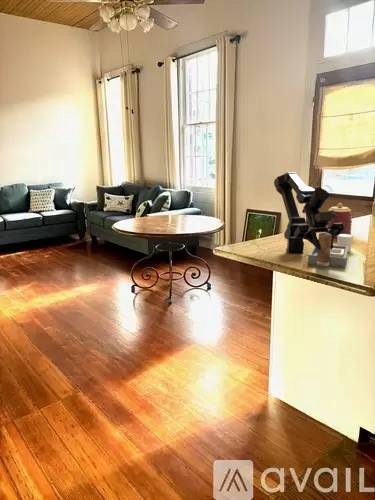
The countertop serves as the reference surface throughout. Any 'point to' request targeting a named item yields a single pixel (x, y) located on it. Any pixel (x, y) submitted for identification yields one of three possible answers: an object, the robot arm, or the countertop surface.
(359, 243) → the countertop surface
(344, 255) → the walled box
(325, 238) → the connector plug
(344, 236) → the white cube
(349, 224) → the canister
